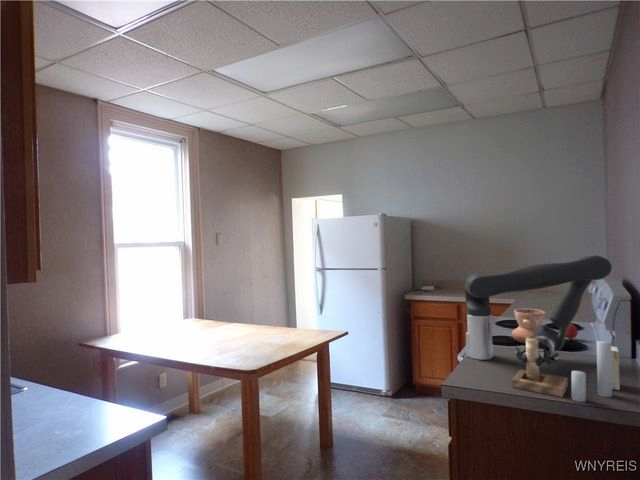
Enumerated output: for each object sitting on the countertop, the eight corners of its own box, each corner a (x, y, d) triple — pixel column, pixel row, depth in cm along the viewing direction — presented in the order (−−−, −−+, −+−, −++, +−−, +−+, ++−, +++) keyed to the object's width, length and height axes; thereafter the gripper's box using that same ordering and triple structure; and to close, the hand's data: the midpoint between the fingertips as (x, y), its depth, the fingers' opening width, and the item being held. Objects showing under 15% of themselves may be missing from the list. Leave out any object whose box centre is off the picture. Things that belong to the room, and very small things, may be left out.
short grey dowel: (570, 399, 119) (570, 373, 119) (572, 396, 122) (572, 369, 122) (584, 403, 117) (584, 375, 117) (586, 399, 120) (586, 372, 119)
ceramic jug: (545, 349, 168) (544, 315, 168) (507, 344, 177) (507, 312, 177) (551, 340, 182) (551, 308, 182) (516, 335, 191) (516, 305, 191)
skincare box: (620, 390, 124) (619, 351, 124) (603, 388, 127) (602, 349, 127) (618, 383, 130) (617, 346, 130) (601, 381, 132) (600, 344, 132)
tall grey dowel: (597, 395, 122) (595, 342, 121) (598, 391, 124) (596, 340, 124) (611, 398, 119) (610, 344, 119) (612, 394, 122) (611, 341, 122)
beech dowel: (525, 383, 131) (524, 340, 131) (528, 379, 134) (527, 337, 134) (538, 385, 129) (537, 341, 129) (540, 381, 132) (539, 339, 131)
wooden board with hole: (512, 387, 130) (512, 379, 130) (520, 376, 139) (520, 369, 139) (562, 397, 121) (562, 388, 121) (567, 385, 130) (567, 377, 130)
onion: (580, 341, 177) (579, 323, 177) (565, 341, 178) (565, 323, 178) (574, 338, 183) (574, 320, 183) (560, 338, 184) (560, 320, 184)
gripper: (518, 335, 147) (506, 347, 133) (563, 340, 138) (555, 353, 124) (519, 355, 147) (507, 369, 133) (564, 362, 138) (556, 377, 125)
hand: (530, 361), depth 129 cm, fingers closed on beech dowel, 3 cm apart
